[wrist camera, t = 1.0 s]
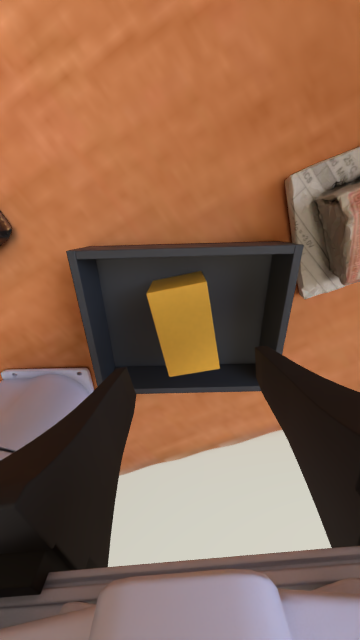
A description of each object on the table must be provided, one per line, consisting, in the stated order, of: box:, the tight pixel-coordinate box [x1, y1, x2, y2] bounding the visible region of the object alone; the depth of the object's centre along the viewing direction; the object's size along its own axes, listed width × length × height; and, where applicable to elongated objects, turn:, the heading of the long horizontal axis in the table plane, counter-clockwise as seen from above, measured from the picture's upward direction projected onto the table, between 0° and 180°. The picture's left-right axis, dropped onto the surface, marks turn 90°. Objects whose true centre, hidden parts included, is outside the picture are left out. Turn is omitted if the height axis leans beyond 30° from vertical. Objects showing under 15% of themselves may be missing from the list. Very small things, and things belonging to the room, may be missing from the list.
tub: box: [66, 241, 304, 394], centre depth 19 cm, size 16×13×4 cm
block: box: [146, 271, 220, 377], centre depth 18 cm, size 4×8×4 cm, turn 11°
